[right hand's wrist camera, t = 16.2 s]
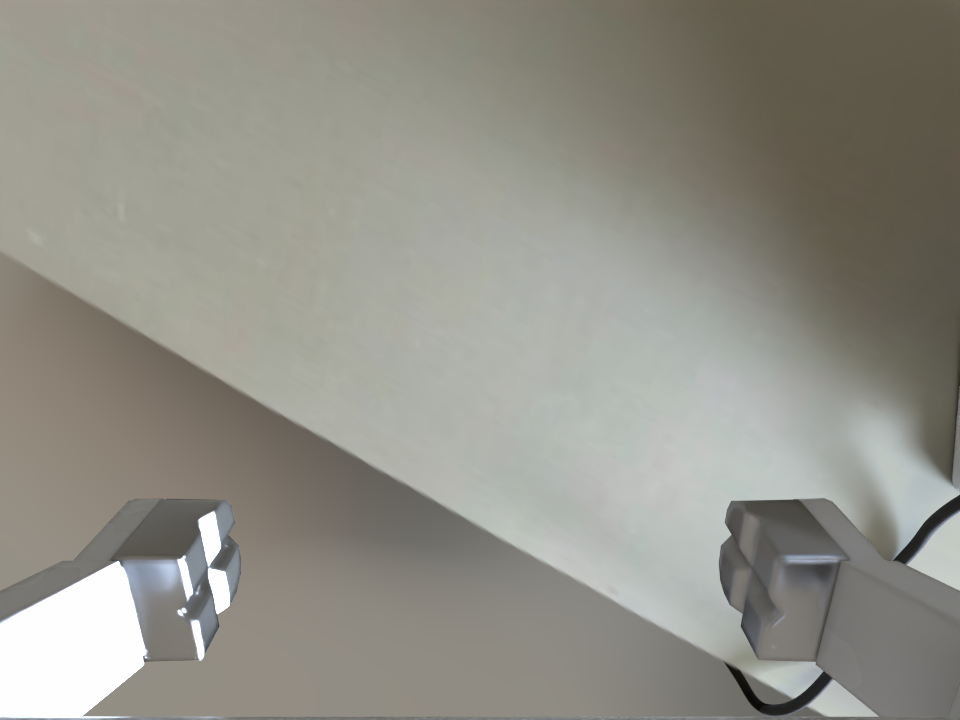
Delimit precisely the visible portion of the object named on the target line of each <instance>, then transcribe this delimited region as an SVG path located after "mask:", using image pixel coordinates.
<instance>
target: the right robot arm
mask: <svg viewBox="0 0 960 720" xmlns="http://www.w3.org/2000/svg"><path fill="white" fill-rule="evenodd" d="M952 482H953V486H954V488H955V489H957V490H958V491H959V492H960V388H959V400H958V412H957V424H956V436H955V448H954V461H953V474H952ZM959 512H960V495H959V496H957V497H956V498H954V499H952V500H951V501H949V502H948V503H946V504H945V505H944V506H942V507H941V508H940V509H938V510H937V511H936V512H935V513H934V514H932V515H931V516H930V517H929V518H928V519H927V520H926V521H925V523H924V524H923V525H922V526H921V528H920V529H919V531H918V532H917V533H916V535H915V536H914V538H913V539H912V540H911V541H910V542H909V544H908V545H907V546H906V547H905V548H904V549H903V550H902V551H901V552H900V554H899V555H898V556H897V557H896V558H895V559H894V560H893V561H887V560H886V559H885V558H884V557H883V556H882V555H881V554H880V553H879V552H878V550H877V549H876V548H875V547H874V546H873V545H872V544H871V543H870V542H869V541H868V540H867V539H866V537H865V536H864V535H863V534H862V533H861V532H860V531H859V530H858V529H857V528H856V527H855V526H854V524H853V523H852V522H851V521H850V520H849V519H848V518H847V517H846V516H845V515H844V514H843V513H842V511H841V510H840V509H839V508H838V507H837V506H836V505H835V504H834V503H833V502H832V501H830V500H827V499H825V498H816V499H793V500H755V501H731V503H730V505H729V507H728V509H727V513H726V519H725V524H726V526H727V527H728V529H729V531H730V532H731V534H732V535H731V536H730V537H729V538H728V539H727V540H726V541H725V542H724V543H723V544H722V545H721V550H720V558H719V570H720V581H721V584H722V588H723V591H724V594H725V596H726V598H727V600H728V602H729V604H730V605H731V606H732V607H734V608H735V609H736V610H738V611H739V612H741V613H742V614H743V617H742V622H741V628H742V630H743V632H744V633H745V635H746V637H747V639H748V641H749V643H750V645H751V647H752V649H753V651H754V653H755V655H756V656H757V658H758V660H775V661H811V662H816V665H817V666H818V667H820V668H821V669H822V670H823V671H824V672H823V673H822V674H821V675H820V676H819V677H818V679H817V680H816V681H815V682H814V683H813V684H812V685H811V686H810V687H809V688H808V689H807V690H806V691H805V692H803V693H802V694H801V695H799V696H798V697H797V698H795V699H793V700H791V701H789V702H786V703H783V704H776V705H771V704H766V703H763V702H762V701H761V700H760V699H759V698H758V697H757V696H756V695H755V693H754V692H753V690H752V689H751V687H750V685H749V684H748V682H747V680H746V679H745V677H744V675H743V674H742V672H741V671H740V669H738V668H736V667H735V666H733V665H730V664H728V663H727V662H725V661H724V663H725V664H726V666H727V668H728V669H729V671H730V672H731V674H732V675H733V677H734V678H735V680H736V681H737V683H738V685H739V686H740V688H741V690H742V692H743V694H744V695H745V697H746V698H747V700H748V702H749V703H750V704H751V705H752V706H753V707H754V708H755V709H756V710H757V711H759V712H761V713H763V714H766V715H769V716H785V715H789V714H792V713H795V712H797V711H799V710H801V709H803V708H804V707H806V706H807V705H809V704H810V703H811V702H812V701H814V700H815V699H816V698H817V697H818V696H819V695H820V694H821V693H822V692H823V691H824V690H825V689H826V688H827V686H828V685H829V684H830V683H831V682H832V681H833V679H834V680H835V681H837V682H838V683H839V684H840V685H841V686H843V687H844V688H845V689H846V690H848V691H849V692H850V693H851V694H852V695H854V696H855V697H856V698H857V699H858V700H860V701H861V702H862V703H863V704H865V705H866V706H867V707H868V708H869V709H871V710H872V711H873V712H874V713H876V714H877V715H878V716H879V717H81V716H82V715H83V714H85V713H86V712H87V711H88V710H89V709H91V708H92V707H93V706H94V705H96V704H97V703H98V702H99V701H101V700H102V699H103V698H104V697H105V696H107V695H108V694H109V693H110V692H112V691H113V690H114V689H115V688H116V687H118V686H119V685H120V684H121V683H122V682H124V681H125V680H126V679H127V678H129V677H130V676H131V675H132V674H133V673H135V672H136V671H137V670H138V669H140V668H141V667H142V666H143V665H144V662H148V661H184V660H202V658H203V657H204V655H205V653H206V651H207V649H208V647H209V645H210V643H211V641H212V639H213V637H214V635H215V633H216V632H217V630H218V628H219V622H218V617H217V614H218V613H219V612H221V611H222V610H224V609H225V608H226V607H228V606H229V605H230V604H231V602H232V600H233V598H234V596H235V594H236V592H237V588H238V583H239V579H240V574H241V556H240V549H239V545H238V544H237V543H236V542H235V541H234V540H233V539H232V538H231V537H230V536H229V535H228V534H229V532H230V531H231V529H232V527H233V525H234V524H235V520H234V515H233V510H232V505H231V504H230V503H229V502H228V501H227V500H201V499H134V500H130V501H128V502H127V503H126V504H125V505H124V506H123V507H122V508H121V509H120V510H119V512H118V513H117V514H116V515H115V516H114V517H113V518H112V519H111V520H110V521H109V522H108V523H107V525H106V526H105V527H104V528H103V529H102V530H101V531H100V532H99V533H98V534H97V535H96V536H95V538H94V539H93V540H92V541H91V542H90V543H89V544H88V545H87V546H86V547H85V548H84V549H83V551H82V552H81V553H80V554H79V555H78V556H77V557H76V558H75V559H74V560H73V561H61V562H59V563H57V564H55V565H53V566H51V567H49V568H47V569H45V570H43V571H41V572H39V573H36V574H34V575H32V576H30V577H28V578H26V579H24V580H22V581H20V582H18V583H16V584H14V585H12V586H9V587H7V588H5V589H3V590H1V591H0V720H960V591H959V590H957V589H955V588H953V587H950V586H948V585H946V584H944V583H942V582H940V581H938V580H936V579H934V578H932V577H930V576H928V575H926V574H923V573H921V572H919V571H917V570H915V569H913V568H911V567H909V566H907V565H908V564H909V562H910V561H911V560H912V559H913V558H914V557H915V556H916V555H917V554H918V553H919V552H920V550H921V549H922V548H923V547H924V546H925V544H926V543H927V542H928V540H929V539H930V538H931V536H932V535H933V534H934V533H935V532H936V530H937V529H938V528H939V527H941V526H942V525H943V524H944V523H945V522H946V521H948V520H949V519H950V518H952V517H953V516H954V515H956V514H957V513H959Z"/></svg>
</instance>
